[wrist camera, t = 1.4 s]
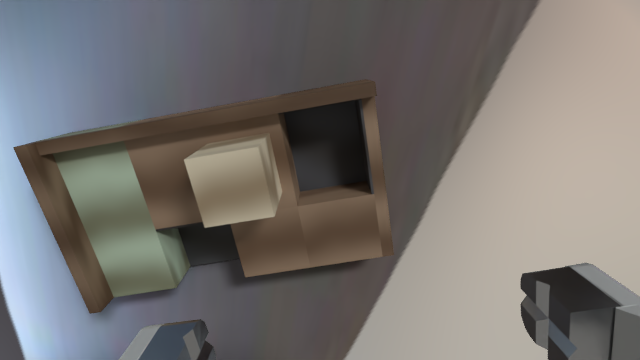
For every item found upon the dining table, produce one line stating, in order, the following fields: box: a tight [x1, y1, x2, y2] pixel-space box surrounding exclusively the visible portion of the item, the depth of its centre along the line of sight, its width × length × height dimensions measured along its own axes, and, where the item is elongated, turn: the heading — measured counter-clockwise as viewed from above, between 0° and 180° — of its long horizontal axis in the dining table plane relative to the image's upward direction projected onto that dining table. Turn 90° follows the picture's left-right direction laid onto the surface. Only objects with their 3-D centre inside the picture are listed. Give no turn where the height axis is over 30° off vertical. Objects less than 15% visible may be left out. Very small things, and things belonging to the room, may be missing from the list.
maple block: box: [184, 133, 282, 228], centre depth 25 cm, size 5×5×5 cm
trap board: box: [13, 79, 394, 313], centre depth 30 cm, size 15×27×6 cm, turn 100°
